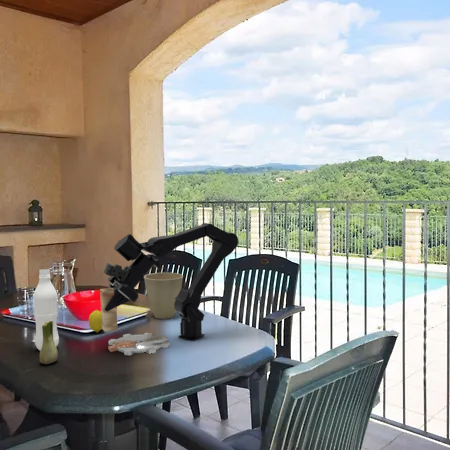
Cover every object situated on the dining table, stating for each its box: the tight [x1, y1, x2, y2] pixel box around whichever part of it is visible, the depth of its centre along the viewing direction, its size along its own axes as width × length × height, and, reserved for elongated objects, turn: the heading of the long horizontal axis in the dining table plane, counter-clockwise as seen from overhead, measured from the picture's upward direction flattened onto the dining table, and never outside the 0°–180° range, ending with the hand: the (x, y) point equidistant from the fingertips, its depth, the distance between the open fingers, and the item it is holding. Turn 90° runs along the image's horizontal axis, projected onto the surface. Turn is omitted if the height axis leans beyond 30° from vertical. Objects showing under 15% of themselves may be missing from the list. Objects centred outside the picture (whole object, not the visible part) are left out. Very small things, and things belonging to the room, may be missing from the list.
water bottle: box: [32, 268, 60, 352], centre depth 163 cm, size 7×7×25 cm
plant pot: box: [143, 272, 184, 320], centre depth 202 cm, size 15×15×16 cm
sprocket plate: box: [107, 332, 170, 356], centre depth 167 cm, size 19×19×1 cm
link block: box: [99, 287, 118, 332], centre depth 163 cm, size 4×4×12 cm
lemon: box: [88, 309, 103, 333], centre depth 182 cm, size 6×6×8 cm
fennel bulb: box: [39, 321, 59, 365], centre depth 151 cm, size 6×5×12 cm
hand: (104, 308), depth 162 cm, fingers closed on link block, 4 cm apart
